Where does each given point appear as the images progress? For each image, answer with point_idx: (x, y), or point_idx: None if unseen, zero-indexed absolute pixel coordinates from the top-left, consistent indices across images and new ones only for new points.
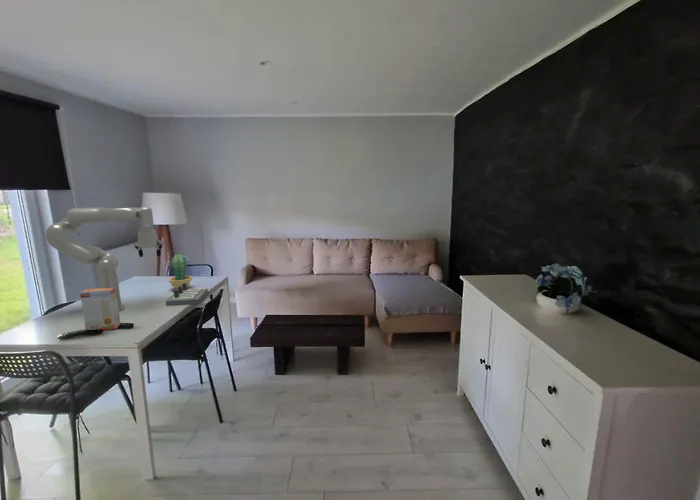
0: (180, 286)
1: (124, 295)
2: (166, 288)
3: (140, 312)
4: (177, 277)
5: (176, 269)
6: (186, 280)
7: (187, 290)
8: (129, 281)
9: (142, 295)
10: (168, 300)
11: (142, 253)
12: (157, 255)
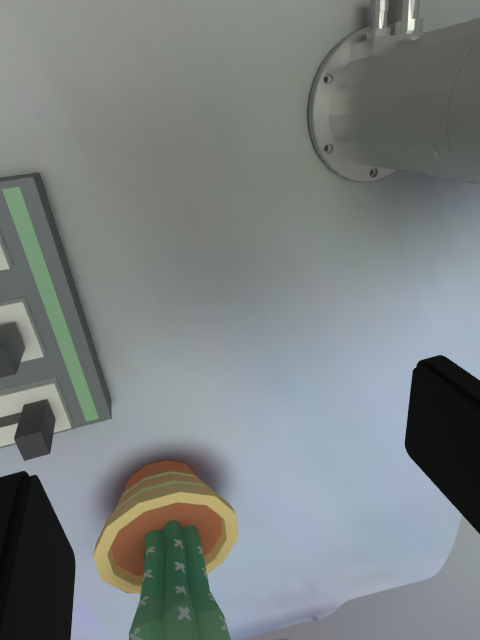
0: (2, 373)
1: (406, 366)
2: (252, 483)
3: (152, 22)
4: (175, 538)
5: (179, 590)
6: (104, 527)
7: (12, 406)
8: (454, 527)
9: (320, 373)
10: (19, 194)
11: (452, 479)
12: (10, 489)
